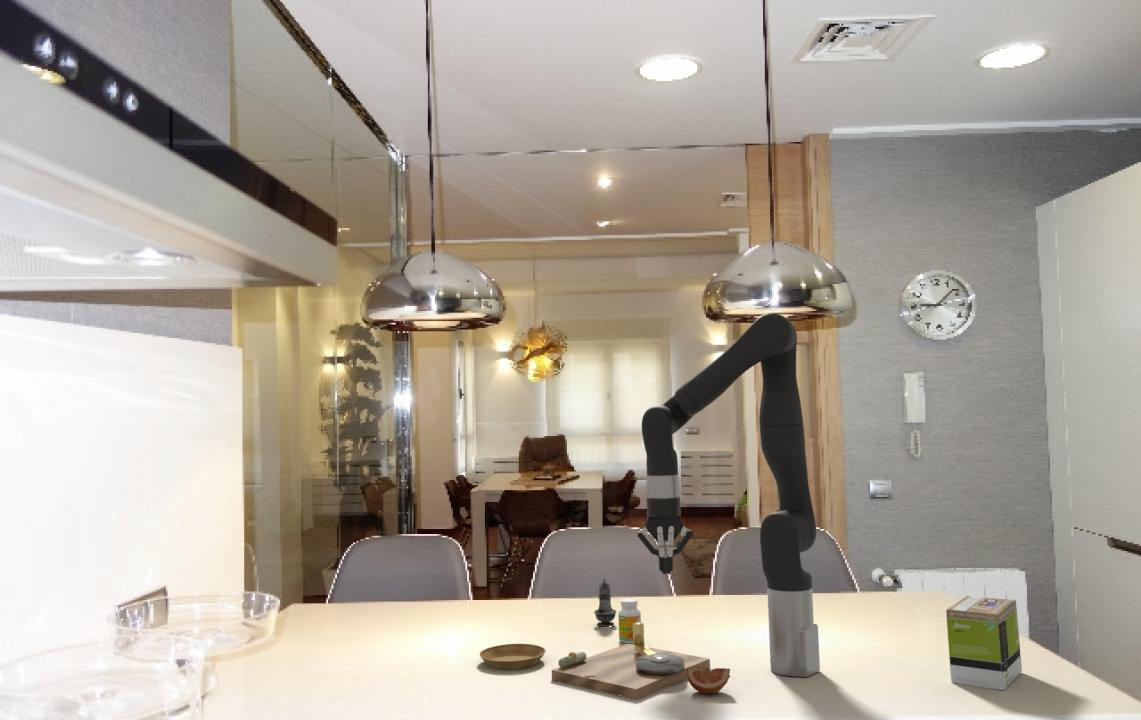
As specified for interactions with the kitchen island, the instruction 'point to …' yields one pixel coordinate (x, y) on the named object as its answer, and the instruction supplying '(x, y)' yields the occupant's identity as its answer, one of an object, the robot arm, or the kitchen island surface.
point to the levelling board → (619, 671)
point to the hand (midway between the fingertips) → (665, 573)
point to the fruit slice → (707, 679)
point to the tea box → (984, 642)
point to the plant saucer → (512, 656)
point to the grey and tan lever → (654, 656)
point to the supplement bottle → (628, 619)
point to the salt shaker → (605, 606)
